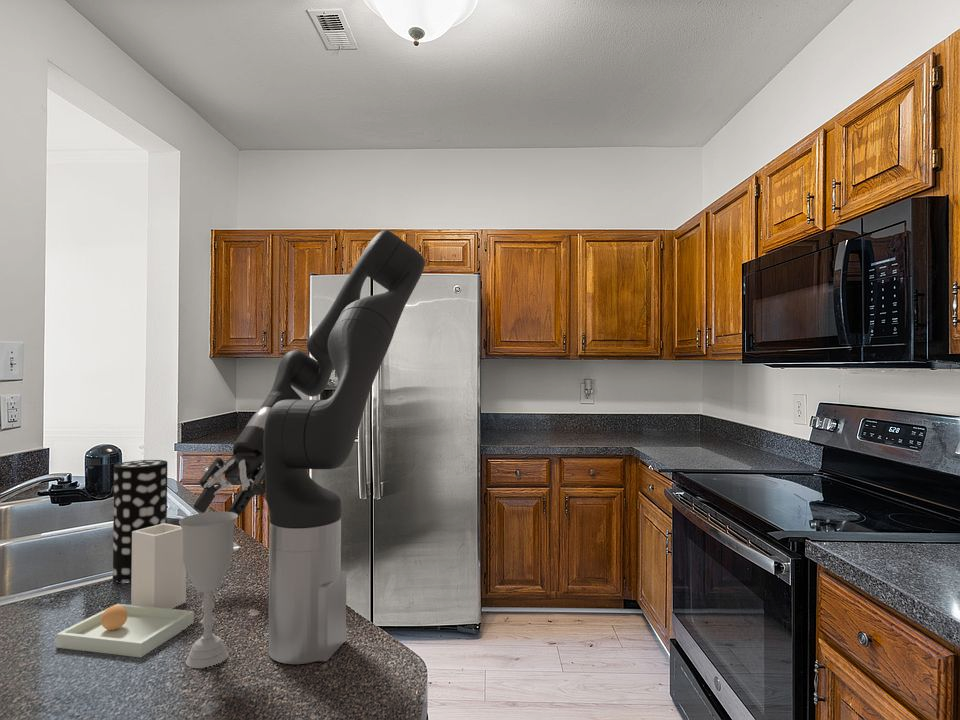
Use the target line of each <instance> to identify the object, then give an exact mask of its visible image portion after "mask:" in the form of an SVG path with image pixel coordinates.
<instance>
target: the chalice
mask: <svg viewBox="0 0 960 720" xmlns="http://www.w3.org/2000/svg"><path fill="white" fill-rule="evenodd" d="M238 517H239V516H238V515H237V514H236V513H233V512H230V511H209V512H204V513H200V512H199V513H196V514H191V515H188V516H185V517H183V518H180V520H179V521H178V523H179V526H181V528H182V529H183V562H184V565H185V567H186V574H187V575H188V578H189V579H190V580H191V583H192V584H193V586H194V588H195V590H196V591H198V592H202V593H203V596H204V598H203V602H202V605H201V609H202V610H203V617H202V619H201V620H200V624H202V626H203V634H202V635H201V637H199V638H197V639H196V640H195V641H194V643H192V646H191V649H190V651H189V653H188V657H187V658H186V660H185V665H186V666H188V667H189V668H193V669H204V668H205V667H207V668H210V667H209V666H211V667H213V665H215V666H217V665H219V664H221V663H223V662H224V661H227V660H226V659H228V658H229V655H230V654H229V651H228V650H227V649H226V648H227V647H226V645H225V644H224V640H223V639H222V638H221V637H220V636H218V635H216V634H215V633H213V629H212V627H213V623H214V622H215V621H216V618H215V617H214V616H213V608H214V607H215V605H216V604H215V603H214V601H213V597H212V596H213V593H214V591H215V590H217V589H219V587H220V586H221V584H222V582H223V581H224V578H225V576H226V574H227V572H228V569H229V567H230V565H231V561H232V558H233V555H234V552H235V551H234V545H235V544H234V541H235V539H234V537H235V536H234V534H235V530H234V529H235V528H234V526H235V523H236V521H237V519H238ZM222 661H223V662H222ZM218 663H219V664H218ZM216 664H217V665H216Z"/></svg>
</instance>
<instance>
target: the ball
mask: <svg viewBox="0 0 960 720" xmlns="http://www.w3.org/2000/svg"><path fill="white" fill-rule="evenodd" d="M114 605H115V606H114ZM114 605H112V606H110V607H108V608H106V609H104V610H105V611H104V610H103V611H104V613H103V614H102V617H101V624H102V626H103V627H104V628H105V629H107V630H116V629H118V628H120V627H122V626H123V625H124V624H125V622H126V620H127V617H128V614H127V611H126V609H125V608H124V607H122V606H119V605H116V604H114Z"/></svg>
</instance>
